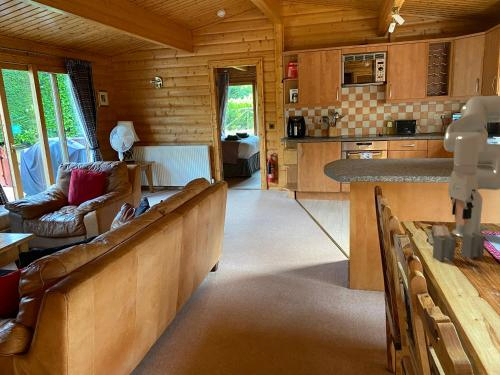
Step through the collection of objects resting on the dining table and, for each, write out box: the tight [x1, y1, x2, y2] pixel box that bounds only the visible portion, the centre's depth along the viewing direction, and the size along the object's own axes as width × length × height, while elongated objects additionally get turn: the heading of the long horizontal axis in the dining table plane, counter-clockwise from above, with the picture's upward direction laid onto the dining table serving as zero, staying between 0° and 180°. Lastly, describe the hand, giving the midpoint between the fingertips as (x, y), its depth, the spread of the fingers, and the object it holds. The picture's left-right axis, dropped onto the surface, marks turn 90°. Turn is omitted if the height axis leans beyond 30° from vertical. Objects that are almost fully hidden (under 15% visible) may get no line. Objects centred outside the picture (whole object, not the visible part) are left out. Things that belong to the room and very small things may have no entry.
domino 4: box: [460, 233, 475, 260], centre depth 152 cm, size 2×5×9 cm, turn 9°
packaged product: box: [427, 224, 453, 246], centre depth 172 cm, size 18×5×10 cm
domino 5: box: [472, 232, 486, 259], centre depth 153 cm, size 2×5×9 cm, turn 9°
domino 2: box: [443, 235, 457, 262], centre depth 151 cm, size 2×5×9 cm, turn 9°
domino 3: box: [453, 199, 469, 226], centre depth 143 cm, size 2×5×9 cm, turn 9°
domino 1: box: [432, 236, 446, 263], centre depth 150 cm, size 2×5×9 cm, turn 9°
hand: (461, 216), depth 144 cm, fingers closed on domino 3, 4 cm apart
